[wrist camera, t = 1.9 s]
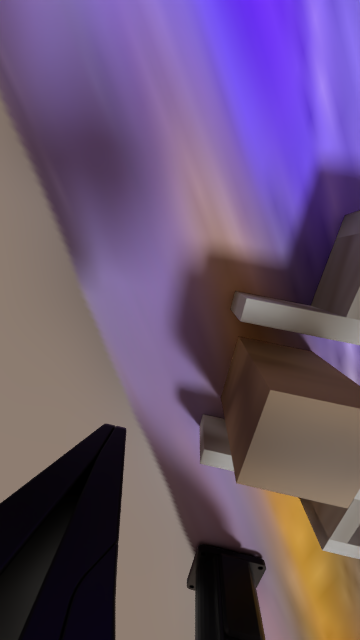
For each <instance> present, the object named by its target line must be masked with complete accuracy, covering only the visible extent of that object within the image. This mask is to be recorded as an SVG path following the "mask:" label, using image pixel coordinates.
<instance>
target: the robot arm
mask: <svg viewBox="0 0 360 640" xmlns="http://www.w3.org/2000/svg"><path fill="white" fill-rule="evenodd" d="M125 441H126V428H123V427H119V426H116V427H115V426H114V425H110V424H104V425H102V426H101V427H100V428H98V429H97V430H96V431H94V432H93V433H92V434H91V435H89V436H88V437H87V438H85V439H84V440H83V441H81V442H80V443H79V444H77V445H76V446H75V447H74V448H72V449H71V450H70V451H68V452H67V453H66V454H64V455H63V456H62V457H60V458H59V459H58V460H57V461H55V462H54V463H53V464H51V465H50V466H49V467H47V468H46V469H45V470H43V471H42V472H41V473H40V474H38V475H37V476H36V477H34V478H33V479H32V480H30V481H29V482H28V483H26V484H25V485H24V486H22V487H21V488H20V489H19V490H17V491H16V492H15V493H13V494H12V495H11V496H9V497H8V498H7V499H6V500H4V501H3V502H2V503H0V640H115V596H116V575H117V557H118V540H119V526H120V512H121V497H122V483H123V470H124V455H125ZM265 570H266V566H265V562H264V560H263V559H260V558H256V557H252V556H248V555H243V554H239V553H235V552H231V551H227V550H223V549H219V548H215V547H211V546H206V545H199V546H198V548H197V551H196V554H195V557H194V560H193V563H192V567H191V569H190V573H189V575H188V578H187V588H189V589H191V590H195V594H196V595H195V640H265V634H264V629H263V623H262V618H261V613H260V607H259V602H258V596H257V591H256V588H257V586H258V584H259V582H260V580H261V578H262V576H263V574H264V572H265Z"/></svg>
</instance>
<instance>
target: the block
mask: <svg viewBox="0 0 360 640" xmlns="http://www.w3.org/2000/svg"><path fill="white" fill-rule="evenodd" d="M221 401H222V407H223V412H224V418H225V423H226V429H227V434H228V440H229V445H230V451H231V456H232V462H233V467H234V473H235V478H236V483H238V484H242V485H247V486H251V487H255V488H260V489H264V490H268V491H273V492H277V493H282V494H286V495H290V496H295V497H299V498H303V499H308V500H312V501H317V502H321V503H325V504H330V505H334V506H338V507H343V508H347V509H348V507H349V506H350V504H351V503H352V501H353V499H354V498H355V496H356V494H357V493H358V491H359V490H360V386H359V385H358V384H356V383H355V382H353V381H352V380H351V379H349V378H348V377H347V376H345V375H344V374H342V373H341V372H340V371H338V370H337V369H336V368H334V367H333V366H331V365H330V364H329V363H327V362H326V361H325V360H323V359H322V358H320V357H319V356H318V355H316V354H315V353H314V352H312V351H308V350H303V349H298V348H293V347H288V346H283V345H278V344H273V343H268V342H263V341H258V340H253V339H248V338H243V337H238V340H237V343H236V347H235V350H234V354H233V357H232V361H231V364H230V368H229V371H228V375H227V378H226V382H225V385H224V389H223V392H222V396H221Z"/></svg>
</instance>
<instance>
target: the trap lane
mask: <svg viewBox="0 0 360 640" xmlns="http://www.w3.org/2000/svg"><path fill="white" fill-rule="evenodd" d="M231 310H232V312H233V313H234V314H235V315H236V317H237V318H238V319H239V320H240V321H241V322H246V323H251V324H256V325H261V326H266V327H271V328H276V329H281V330H286V331H291V332H296V333H301V334H306V335H311V336H316V337H321V338H326V339H331V340H336V341H341V342H346V343H351V344H356V345H360V210H359V211H356V212H353V213H350V214H347V215H345V216H344V219H343V222H342V224H341V227H340V230H339V232H338V235H337V238H336V240H335V243H334V245H333V248H332V251H331V253H330V256H329V259H328V261H327V264H326V267H325V269H324V272H323V274H322V277H321V280H320V282H319V285H318V288H317V290H316V293H315V296H314V298H313V301H312V303H311V306H310V305H304V304H299V303H294V302H289V301H284V300H279V299H274V298H268V297H263V296H258V295H253V294H248V293H243V292H237V291H235V294H234V298H233V301H232V305H231ZM200 464H204V465H208V466H213V467H217V468H222V469H226V470H230V471H234V467H233V462H232V456H231V451H230V445H229V440H228V434H227V429H226V423H225V419H222V418H218V417H213V416H208V415H204V414H203V416H202V419H201V423H200ZM300 501H301V503H302V505H303V507H304V510H305V512H306V514H307V516H308V519H309V521H310V523H311V525H312V528H313V530H314V532H315V534H316V537H317V539H318V541H319V543H320V546H321V548H322V550H323V551H328V552H332V553H336V554H340V555H344V556H348V557H353V558H357V559H360V490H359V491H358V493H357V494H356V496H355V498H354V499H353V501H352V503H351V504H350V506H349V507H348V509H347V508H343V507H338V506H334V505H330V504H325V503H321V502H317V501H312V500H308V499H303V498H301V500H300Z"/></svg>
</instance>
